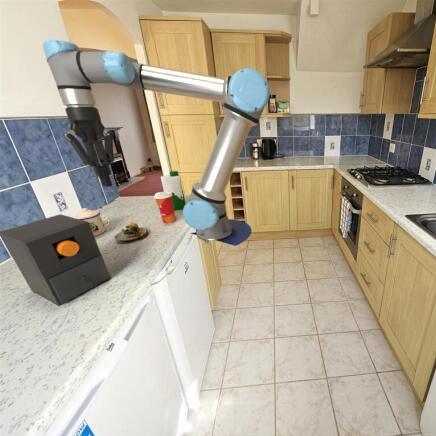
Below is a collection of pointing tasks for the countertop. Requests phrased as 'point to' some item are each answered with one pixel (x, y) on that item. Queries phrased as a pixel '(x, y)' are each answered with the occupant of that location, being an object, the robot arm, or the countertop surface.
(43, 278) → the fryer base
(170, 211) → the paper cup
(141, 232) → the burger
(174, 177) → the milk carton
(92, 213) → the teacup with lid
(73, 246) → the button
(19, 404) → the countertop surface
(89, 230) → the panel
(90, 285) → the pull-out fryer drawer
